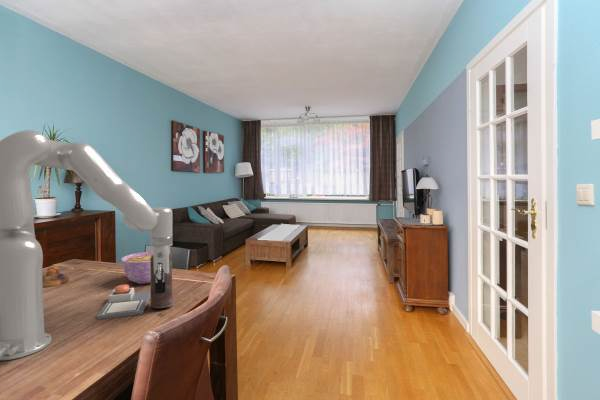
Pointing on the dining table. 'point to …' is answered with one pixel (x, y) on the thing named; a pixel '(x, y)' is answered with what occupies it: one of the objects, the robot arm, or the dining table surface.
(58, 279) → the orange purple rounded piece
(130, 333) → the dining table surface
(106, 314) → the grey piece
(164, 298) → the brown cylinder
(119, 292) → the button
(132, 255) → the bowl of food
